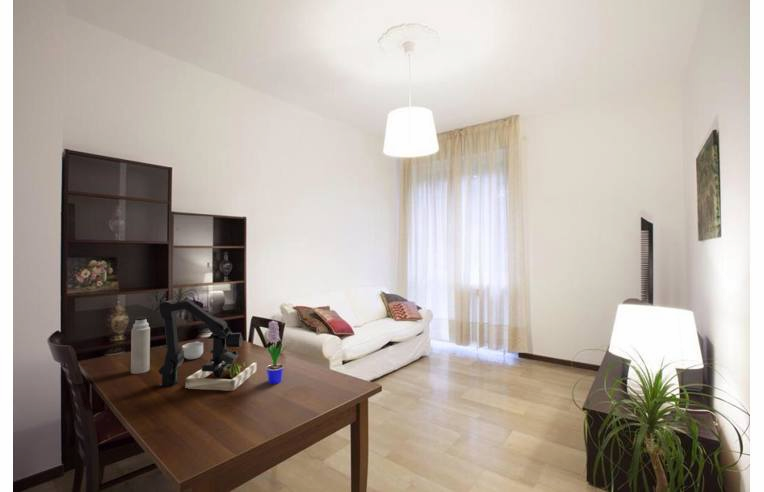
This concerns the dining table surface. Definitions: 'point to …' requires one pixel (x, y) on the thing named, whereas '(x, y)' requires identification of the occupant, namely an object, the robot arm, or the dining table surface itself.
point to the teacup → (193, 350)
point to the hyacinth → (274, 355)
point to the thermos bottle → (140, 346)
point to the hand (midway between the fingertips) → (218, 379)
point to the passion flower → (231, 369)
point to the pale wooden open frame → (218, 380)
